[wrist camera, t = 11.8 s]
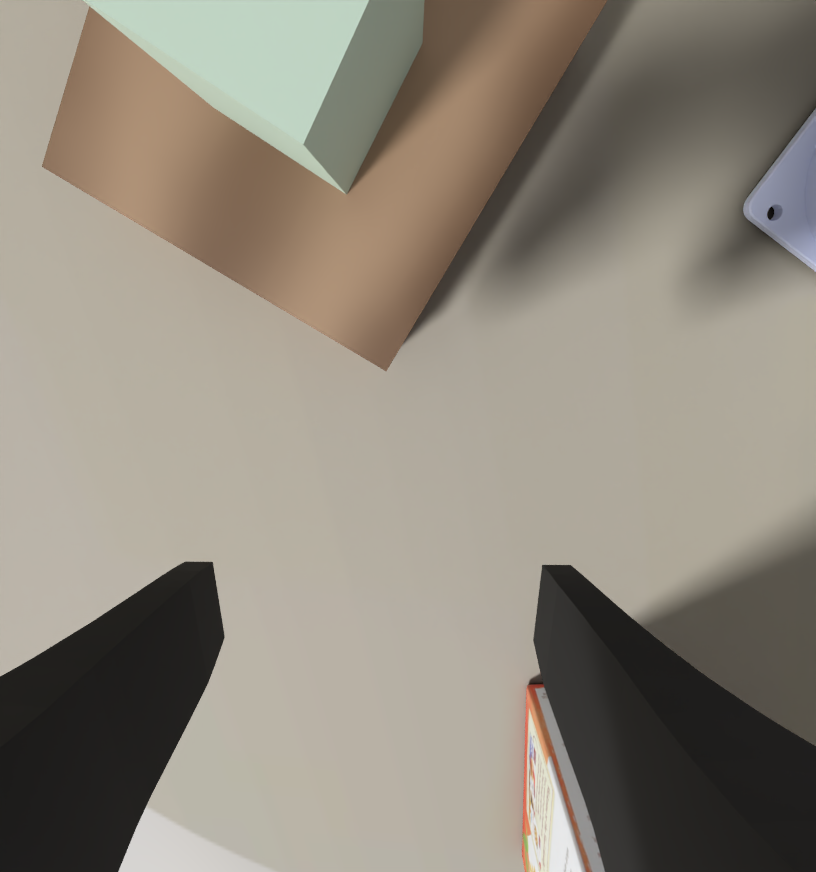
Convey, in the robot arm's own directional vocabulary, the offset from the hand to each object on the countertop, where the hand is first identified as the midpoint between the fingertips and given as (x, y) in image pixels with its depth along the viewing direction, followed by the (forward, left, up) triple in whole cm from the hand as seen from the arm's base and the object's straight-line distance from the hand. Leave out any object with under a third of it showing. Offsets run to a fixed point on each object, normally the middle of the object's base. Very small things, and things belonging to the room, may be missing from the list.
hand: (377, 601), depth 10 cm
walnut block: (+8, -9, -10) cm, 16 cm away
